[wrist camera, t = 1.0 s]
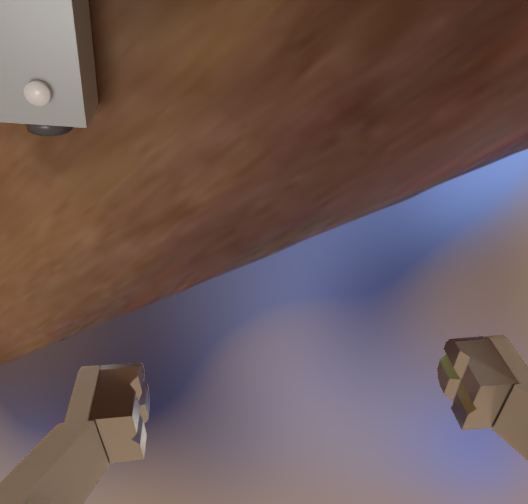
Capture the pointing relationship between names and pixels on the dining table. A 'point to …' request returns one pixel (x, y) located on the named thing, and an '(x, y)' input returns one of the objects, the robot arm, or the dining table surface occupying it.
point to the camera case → (47, 65)
